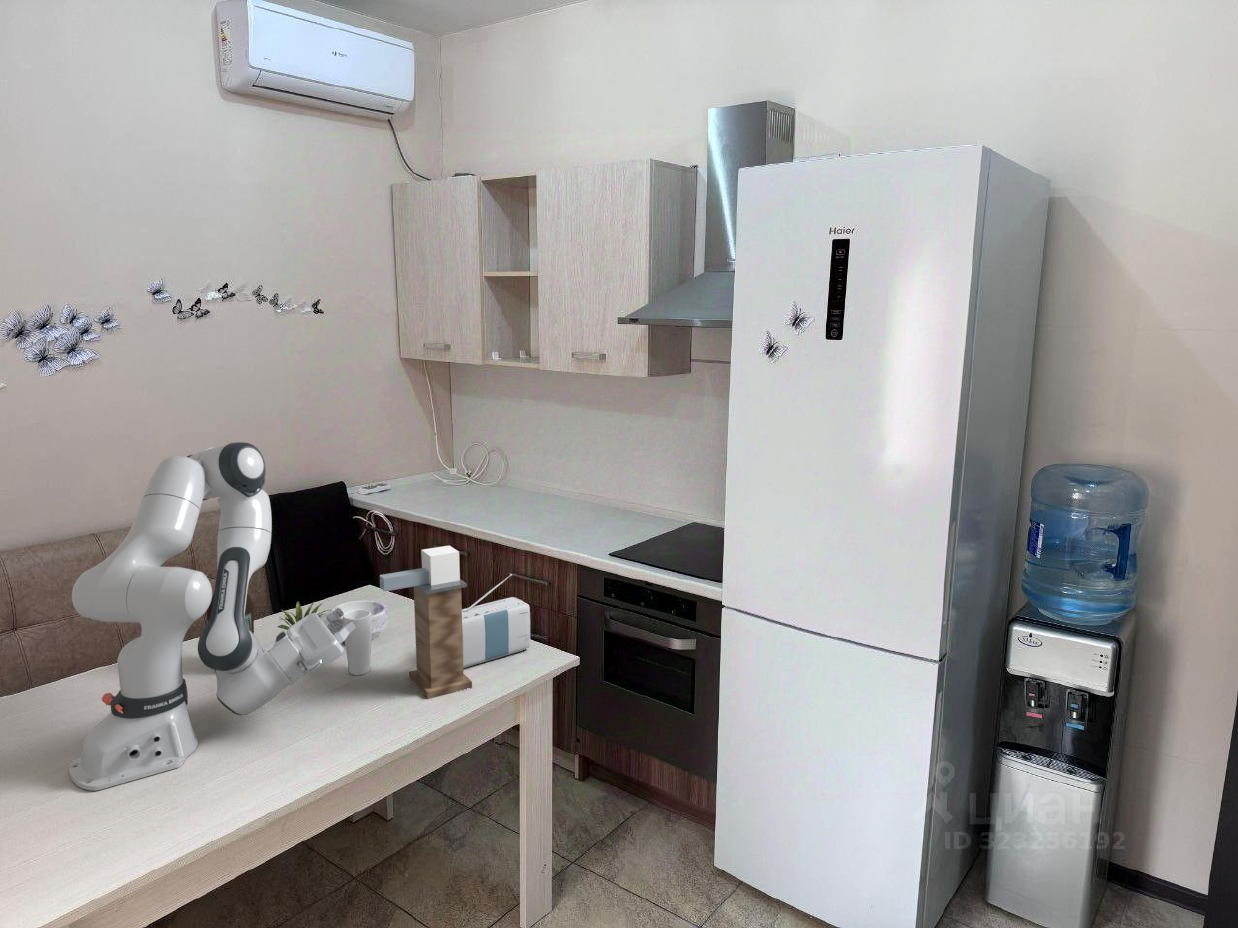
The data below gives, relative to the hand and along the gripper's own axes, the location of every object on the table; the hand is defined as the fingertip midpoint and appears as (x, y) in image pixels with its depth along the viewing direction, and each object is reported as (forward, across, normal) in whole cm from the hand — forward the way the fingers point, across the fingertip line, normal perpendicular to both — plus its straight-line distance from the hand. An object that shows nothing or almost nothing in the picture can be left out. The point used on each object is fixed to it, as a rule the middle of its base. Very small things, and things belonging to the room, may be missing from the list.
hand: (347, 616), depth 189 cm
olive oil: (-27, +35, +9) cm, 46 cm away
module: (+17, 0, +4) cm, 18 cm away
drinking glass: (-5, +16, +22) cm, 28 cm away
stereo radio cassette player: (+22, +8, +37) cm, 44 cm away
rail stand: (+8, 0, +29) cm, 30 cm away
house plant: (-15, +27, +16) cm, 35 cm away
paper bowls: (0, +39, +25) cm, 46 cm away
